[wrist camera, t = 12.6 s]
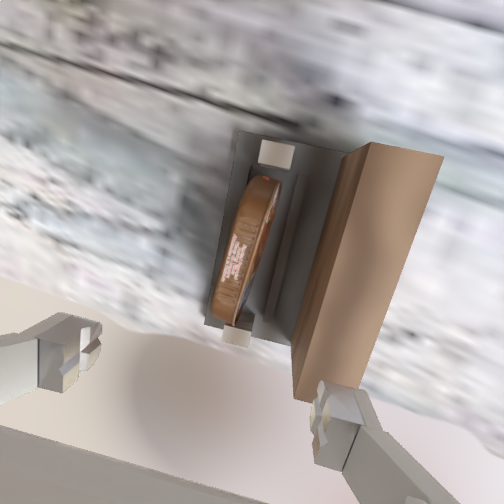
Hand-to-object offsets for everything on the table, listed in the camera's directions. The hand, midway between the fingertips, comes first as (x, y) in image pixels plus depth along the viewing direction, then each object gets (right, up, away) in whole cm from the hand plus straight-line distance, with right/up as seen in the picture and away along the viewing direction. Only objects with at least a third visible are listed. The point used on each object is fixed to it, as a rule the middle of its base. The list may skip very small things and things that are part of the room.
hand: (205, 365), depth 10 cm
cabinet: (+6, +4, +22) cm, 23 cm away
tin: (+2, +5, +21) cm, 21 cm away
